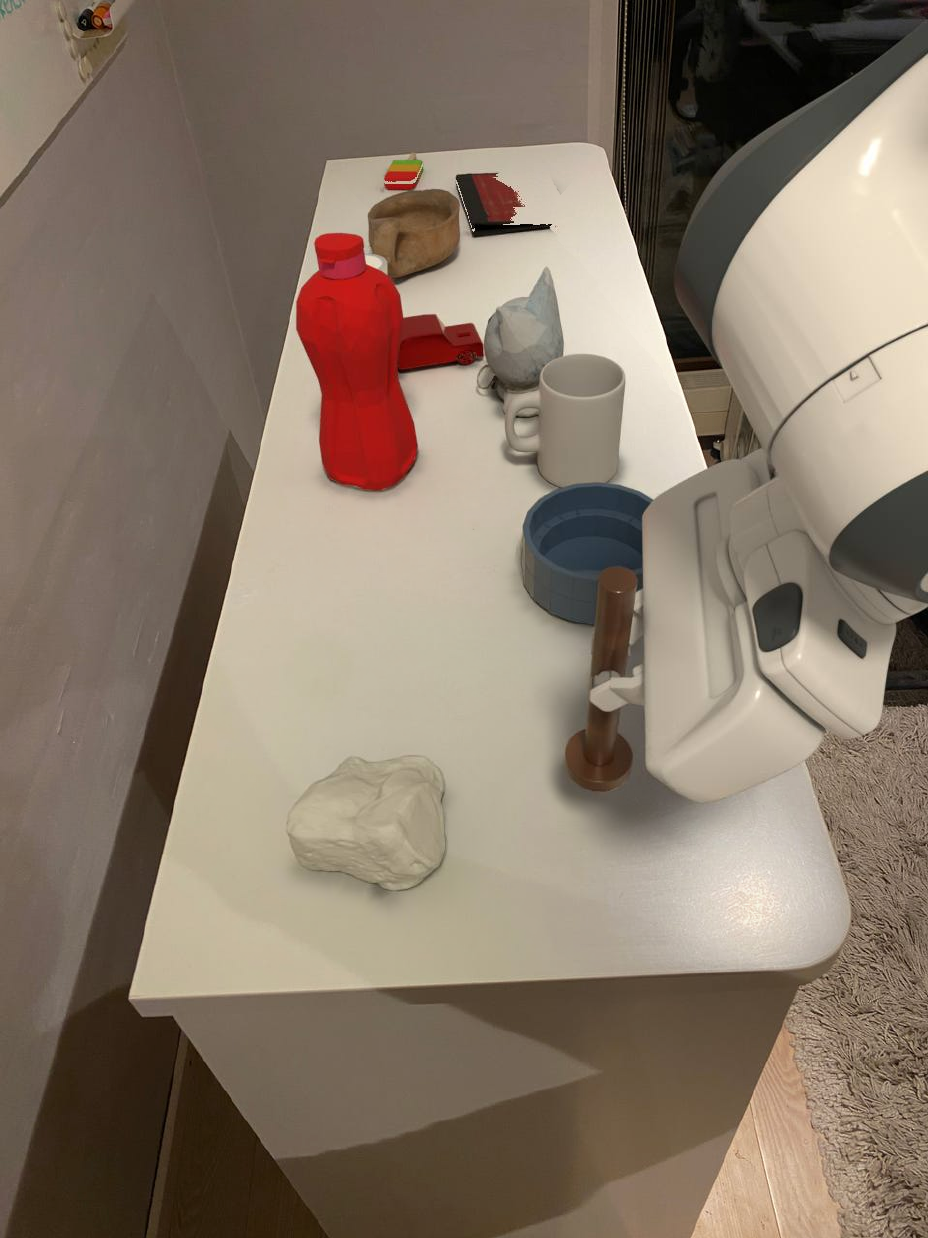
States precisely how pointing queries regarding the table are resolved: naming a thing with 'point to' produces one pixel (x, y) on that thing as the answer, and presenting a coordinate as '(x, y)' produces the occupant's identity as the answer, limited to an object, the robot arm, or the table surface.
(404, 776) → the decorative stone
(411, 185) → the popsicle
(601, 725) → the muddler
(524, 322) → the figurine
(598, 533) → the stir bowl
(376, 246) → the bowl
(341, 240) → the water bottle
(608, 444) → the mug
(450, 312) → the table surface
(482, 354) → the toy car
